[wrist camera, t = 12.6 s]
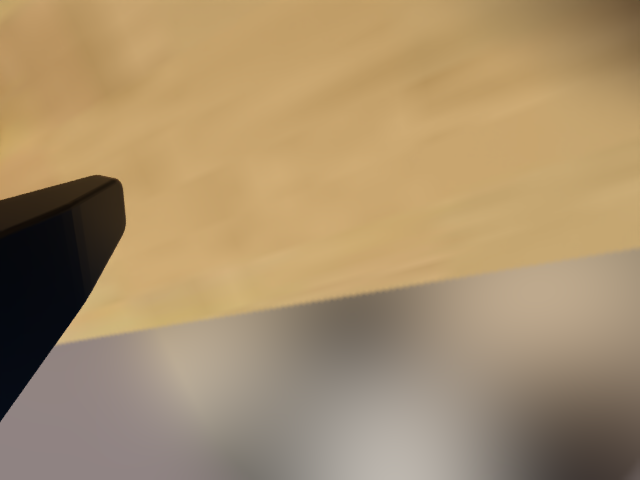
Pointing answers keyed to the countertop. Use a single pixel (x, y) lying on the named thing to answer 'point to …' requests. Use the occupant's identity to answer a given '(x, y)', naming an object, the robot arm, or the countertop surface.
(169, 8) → the countertop surface
